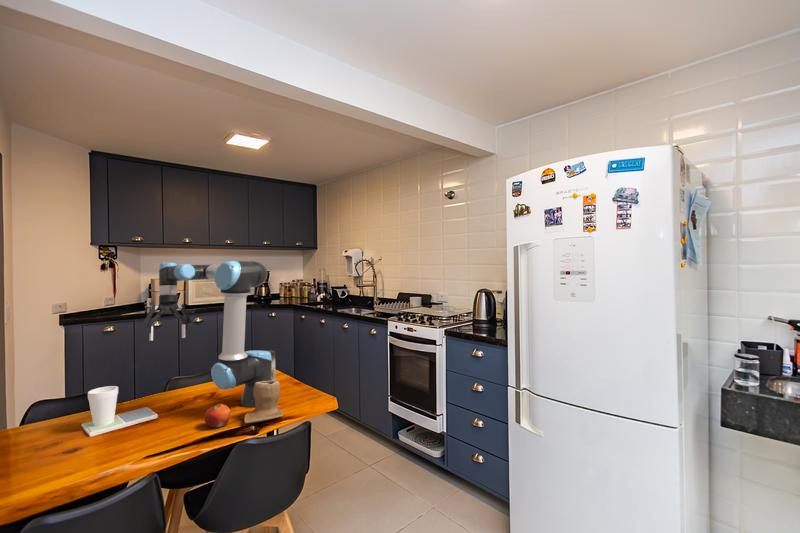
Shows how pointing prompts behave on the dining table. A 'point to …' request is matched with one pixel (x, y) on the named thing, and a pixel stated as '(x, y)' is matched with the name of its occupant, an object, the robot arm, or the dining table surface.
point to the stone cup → (265, 402)
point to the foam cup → (103, 404)
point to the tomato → (217, 415)
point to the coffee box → (273, 364)
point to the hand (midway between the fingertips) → (167, 339)
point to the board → (121, 421)
